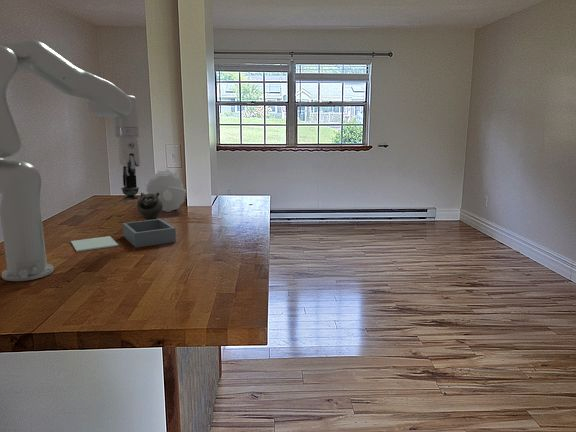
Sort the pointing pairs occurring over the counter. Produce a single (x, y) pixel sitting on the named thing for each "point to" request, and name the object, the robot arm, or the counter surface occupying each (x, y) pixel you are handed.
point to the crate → (149, 232)
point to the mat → (93, 243)
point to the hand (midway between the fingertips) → (129, 186)
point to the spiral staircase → (167, 189)
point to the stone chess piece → (129, 190)
